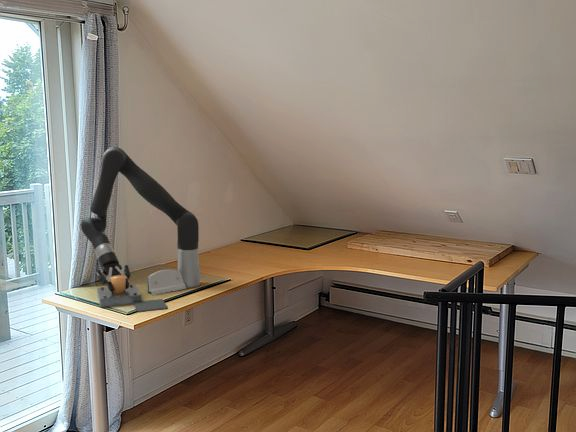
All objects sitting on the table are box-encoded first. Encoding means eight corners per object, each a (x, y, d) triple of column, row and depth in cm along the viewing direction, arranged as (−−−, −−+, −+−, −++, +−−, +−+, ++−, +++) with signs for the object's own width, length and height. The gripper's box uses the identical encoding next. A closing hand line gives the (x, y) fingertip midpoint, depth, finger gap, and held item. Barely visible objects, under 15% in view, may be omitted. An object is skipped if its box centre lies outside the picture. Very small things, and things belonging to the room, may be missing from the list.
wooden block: (125, 296, 258) (124, 273, 257) (127, 300, 253) (126, 277, 251) (110, 298, 256) (109, 275, 254) (112, 302, 251) (111, 279, 249)
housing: (135, 292, 265) (135, 283, 264) (140, 303, 250) (140, 293, 249) (97, 295, 259) (96, 286, 258) (100, 307, 244) (100, 297, 244)
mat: (162, 300, 254) (162, 298, 254) (167, 308, 243) (167, 307, 243) (133, 303, 250) (133, 302, 250) (137, 312, 239) (137, 310, 239)
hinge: (151, 295, 260) (147, 272, 261) (147, 296, 264) (143, 273, 265) (186, 288, 270) (182, 266, 271) (182, 289, 274) (178, 267, 275)
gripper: (92, 253, 252) (106, 287, 245) (124, 248, 261) (139, 281, 255) (87, 263, 257) (101, 297, 250) (119, 258, 266) (133, 290, 260)
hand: (120, 289), depth 252 cm, fingers closed on wooden block, 6 cm apart
